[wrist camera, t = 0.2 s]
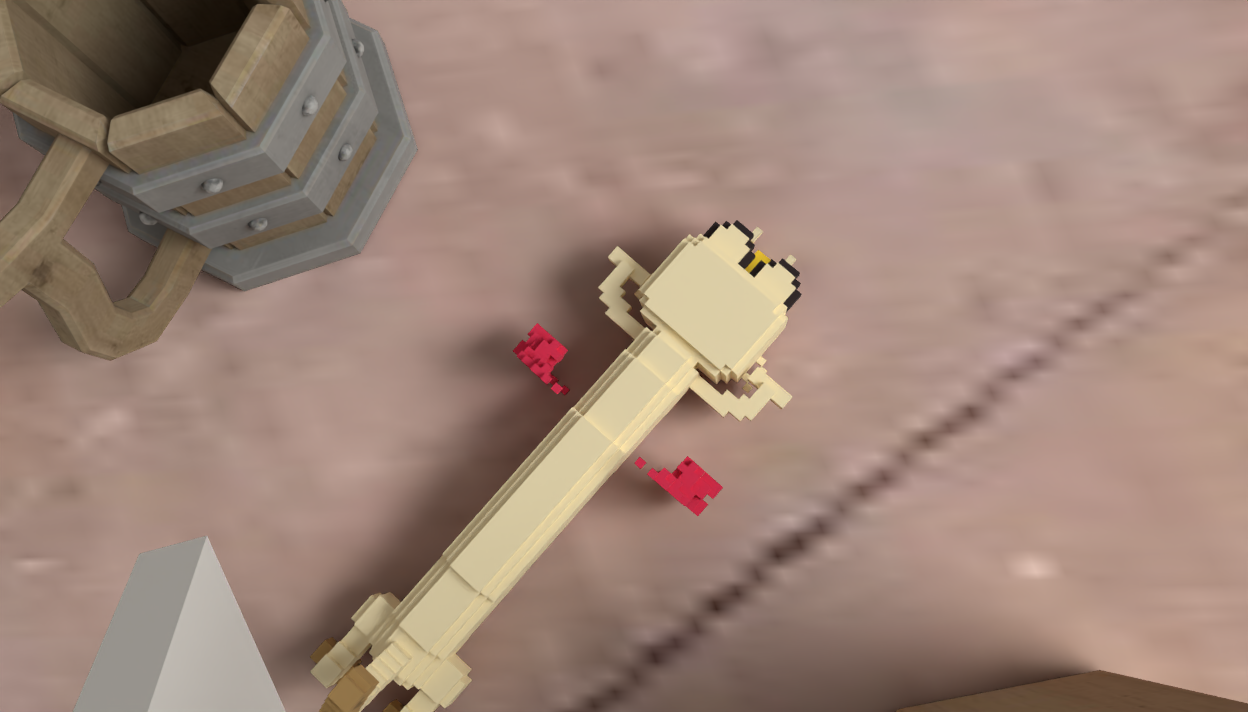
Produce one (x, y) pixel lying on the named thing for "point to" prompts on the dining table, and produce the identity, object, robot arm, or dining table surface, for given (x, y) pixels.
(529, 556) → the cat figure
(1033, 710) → the wooden block
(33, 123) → the tankard
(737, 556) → the dining table surface
